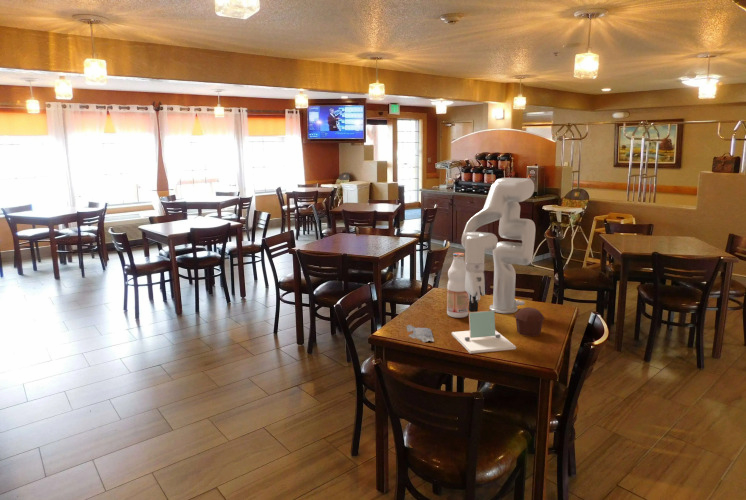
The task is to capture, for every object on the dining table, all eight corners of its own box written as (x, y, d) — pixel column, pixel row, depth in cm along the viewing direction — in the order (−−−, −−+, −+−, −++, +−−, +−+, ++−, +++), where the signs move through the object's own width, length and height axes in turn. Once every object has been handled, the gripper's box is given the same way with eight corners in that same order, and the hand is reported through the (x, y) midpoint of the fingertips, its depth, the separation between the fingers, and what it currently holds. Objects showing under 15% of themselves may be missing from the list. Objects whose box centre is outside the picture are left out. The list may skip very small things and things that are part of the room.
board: (493, 330, 213) (493, 325, 213) (516, 349, 194) (516, 343, 193) (451, 334, 210) (451, 329, 209) (470, 353, 190) (470, 347, 190)
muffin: (508, 330, 214) (509, 306, 212) (530, 326, 218) (531, 303, 216) (527, 339, 203) (528, 315, 201) (550, 335, 208) (551, 311, 206)
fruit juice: (443, 316, 232) (444, 254, 227) (451, 310, 240) (452, 250, 235) (463, 319, 228) (464, 256, 222) (471, 313, 235) (472, 252, 230)
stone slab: (405, 325, 219) (428, 323, 219) (405, 329, 219) (429, 327, 219) (409, 342, 201) (435, 340, 201) (409, 346, 202) (435, 344, 202)
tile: (493, 310, 203) (494, 311, 202) (494, 335, 203) (495, 335, 202) (468, 312, 201) (469, 312, 200) (469, 337, 201) (470, 337, 200)
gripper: (491, 270, 199) (489, 316, 203) (476, 262, 214) (475, 305, 217) (472, 271, 198) (471, 317, 202) (458, 263, 212) (457, 306, 216)
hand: (473, 311), depth 209 cm, fingers closed
